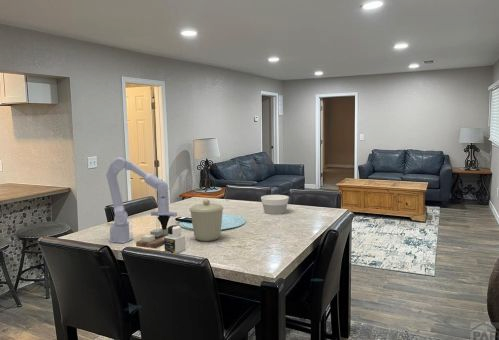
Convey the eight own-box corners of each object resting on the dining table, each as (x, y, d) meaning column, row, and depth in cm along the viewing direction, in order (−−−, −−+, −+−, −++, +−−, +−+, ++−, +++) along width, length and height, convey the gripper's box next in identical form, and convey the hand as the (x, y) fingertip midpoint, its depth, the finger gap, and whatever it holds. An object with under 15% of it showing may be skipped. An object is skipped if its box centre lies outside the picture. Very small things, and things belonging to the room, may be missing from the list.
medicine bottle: (164, 251, 185) (163, 226, 184) (175, 247, 191) (174, 223, 190) (175, 253, 181) (174, 228, 180) (185, 249, 187) (184, 225, 186)
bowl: (290, 215, 257) (290, 199, 256) (261, 215, 257) (260, 199, 256) (288, 209, 276) (287, 194, 275) (261, 209, 276) (260, 194, 275)
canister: (207, 232, 218) (206, 195, 216) (231, 237, 207) (230, 198, 204) (183, 239, 204) (181, 200, 202) (207, 245, 193) (205, 204, 191)
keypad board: (136, 245, 195) (136, 241, 195) (162, 234, 215) (162, 230, 215) (156, 248, 190) (155, 243, 190) (180, 236, 211) (180, 232, 210)
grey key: (150, 236, 202) (150, 231, 202) (155, 233, 206) (155, 229, 206) (157, 236, 200) (157, 232, 200) (162, 234, 204) (162, 230, 204)
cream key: (141, 241, 196) (141, 236, 195) (147, 238, 200) (147, 234, 200) (149, 242, 194) (149, 237, 194) (154, 239, 198) (154, 235, 198)
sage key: (158, 234, 208) (158, 229, 208) (163, 232, 213) (163, 227, 212) (165, 234, 207) (165, 230, 206) (170, 232, 211) (170, 228, 211)
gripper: (147, 205, 206) (148, 230, 208) (172, 206, 202) (173, 231, 204) (154, 202, 213) (155, 227, 214) (178, 203, 209) (179, 228, 210)
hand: (164, 229), depth 209 cm, fingers closed, pressing on sage key
